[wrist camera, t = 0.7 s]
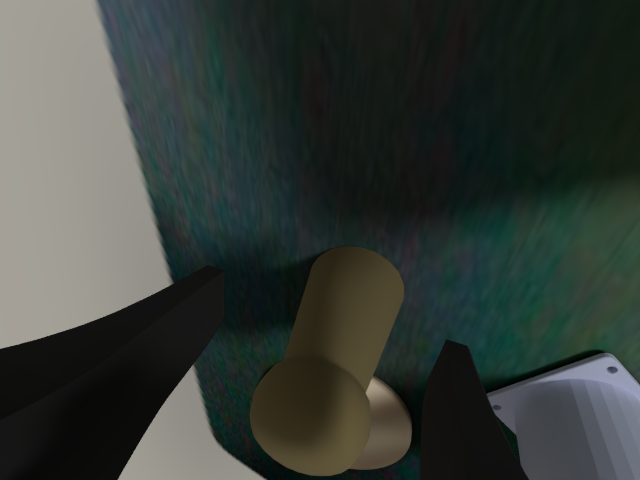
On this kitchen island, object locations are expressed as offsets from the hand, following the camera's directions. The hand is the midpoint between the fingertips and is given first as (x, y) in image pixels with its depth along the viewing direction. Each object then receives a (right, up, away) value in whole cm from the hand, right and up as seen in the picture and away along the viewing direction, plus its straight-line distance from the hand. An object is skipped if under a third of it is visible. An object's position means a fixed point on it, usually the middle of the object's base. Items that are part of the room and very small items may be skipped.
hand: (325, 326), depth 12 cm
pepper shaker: (+2, 0, +12) cm, 12 cm away
